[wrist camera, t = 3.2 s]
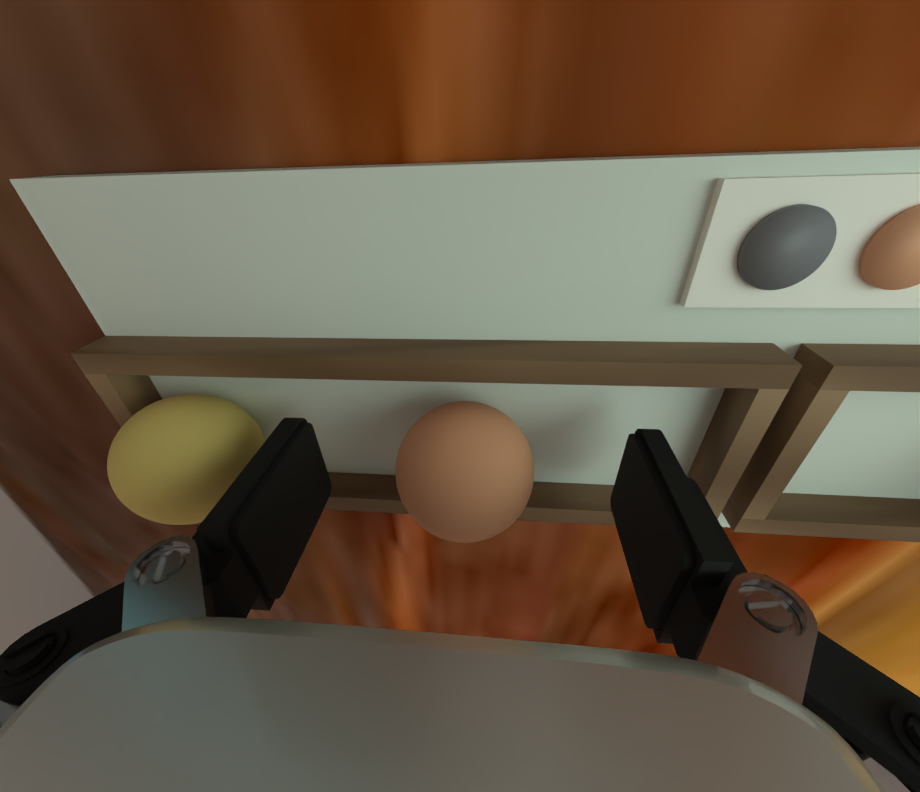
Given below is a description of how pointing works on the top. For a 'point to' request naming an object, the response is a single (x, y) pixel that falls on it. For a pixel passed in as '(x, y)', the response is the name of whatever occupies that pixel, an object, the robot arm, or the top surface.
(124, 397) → the wooden picture frame
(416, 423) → the terracotta ball
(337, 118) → the top surface
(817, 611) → the top surface
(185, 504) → the ochre ball
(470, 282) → the board
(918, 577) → the top surface
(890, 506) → the wooden rectangular frame
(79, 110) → the top surface
